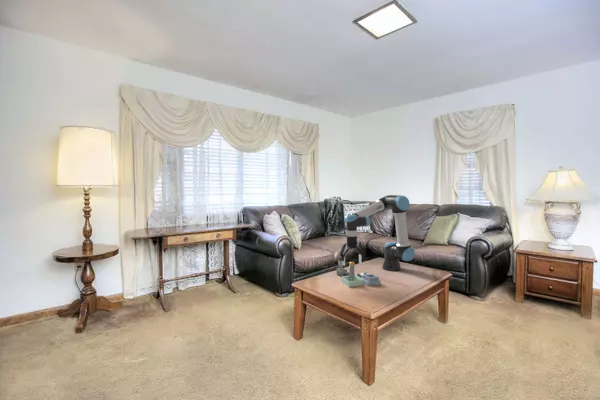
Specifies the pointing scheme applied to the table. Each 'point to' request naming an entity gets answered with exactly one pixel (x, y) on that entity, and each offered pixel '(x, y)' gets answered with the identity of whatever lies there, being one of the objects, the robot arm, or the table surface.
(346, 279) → the tray
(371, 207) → the robot arm
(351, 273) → the orange and grey cylinder
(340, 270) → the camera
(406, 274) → the table surface
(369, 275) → the block
